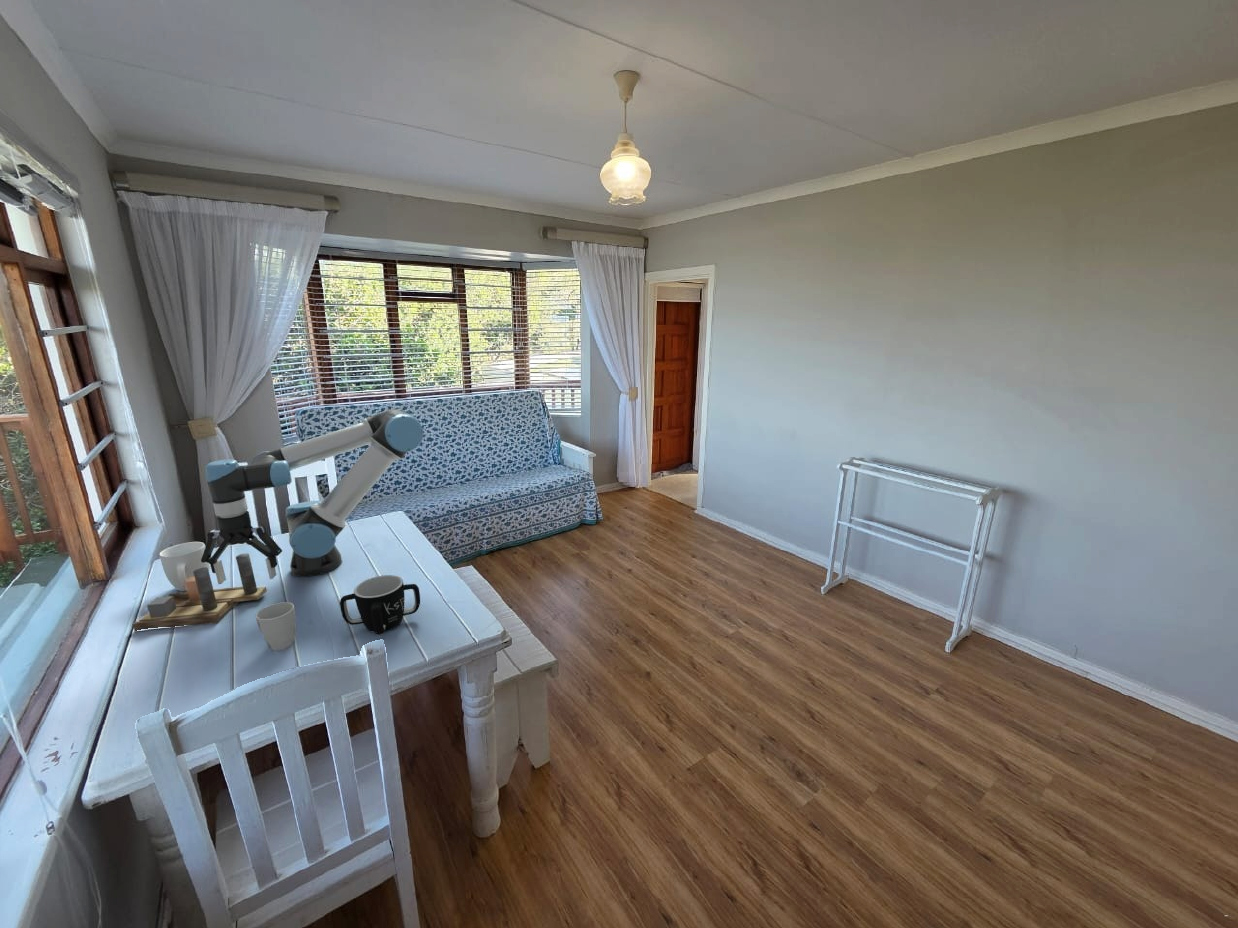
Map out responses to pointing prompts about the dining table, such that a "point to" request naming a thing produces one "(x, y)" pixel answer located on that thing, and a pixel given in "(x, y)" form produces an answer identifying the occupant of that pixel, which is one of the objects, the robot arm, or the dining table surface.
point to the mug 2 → (380, 603)
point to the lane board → (187, 620)
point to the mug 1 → (182, 562)
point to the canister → (192, 589)
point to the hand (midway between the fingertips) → (248, 579)
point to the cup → (277, 625)
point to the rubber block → (161, 606)
